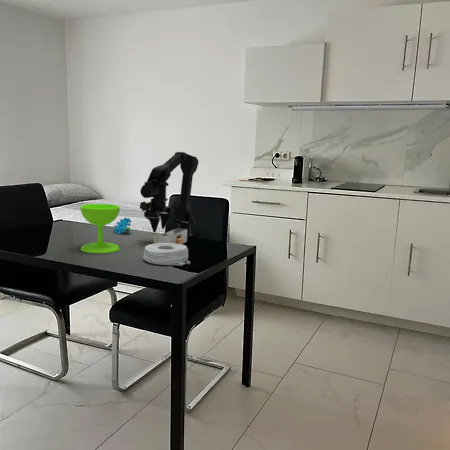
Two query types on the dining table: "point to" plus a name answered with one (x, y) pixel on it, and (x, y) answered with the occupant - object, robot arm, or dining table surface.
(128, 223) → the blue lumpy cluster
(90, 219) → the wineglass
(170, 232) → the grey long block
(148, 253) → the cable
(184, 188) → the robot arm
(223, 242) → the dining table surface
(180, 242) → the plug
